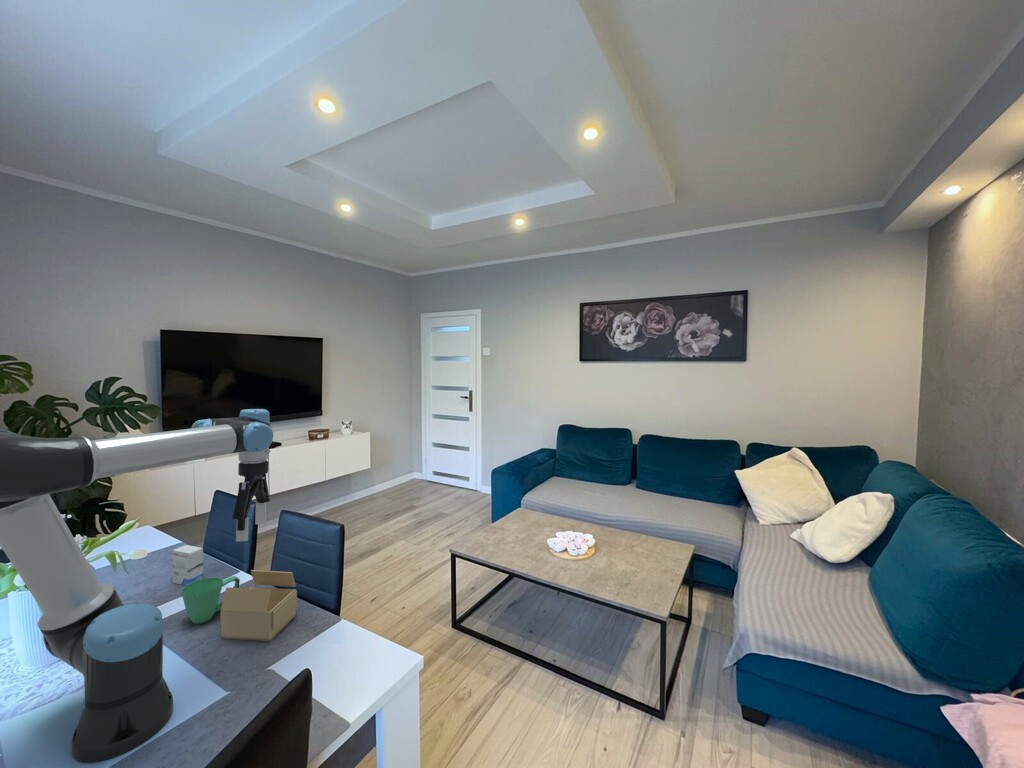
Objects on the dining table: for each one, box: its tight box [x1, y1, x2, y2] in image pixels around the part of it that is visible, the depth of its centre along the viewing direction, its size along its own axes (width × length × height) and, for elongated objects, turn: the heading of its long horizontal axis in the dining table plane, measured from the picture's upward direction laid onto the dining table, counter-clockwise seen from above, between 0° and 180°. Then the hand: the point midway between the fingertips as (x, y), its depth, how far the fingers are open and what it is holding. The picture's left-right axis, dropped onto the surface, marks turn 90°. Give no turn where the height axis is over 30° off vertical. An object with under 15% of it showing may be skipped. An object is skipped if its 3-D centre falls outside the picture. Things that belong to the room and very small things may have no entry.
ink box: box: [171, 544, 205, 587], centre depth 140 cm, size 9×5×12 cm, turn 73°
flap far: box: [250, 569, 297, 588], centre depth 122 cm, size 1×13×6 cm, turn 87°
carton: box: [220, 586, 298, 642], centre depth 117 cm, size 12×15×8 cm
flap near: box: [220, 587, 271, 612], centre depth 111 cm, size 1×13×6 cm, turn 87°
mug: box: [181, 575, 241, 624], centre depth 122 cm, size 15×10×10 cm
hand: (251, 532), depth 120 cm, fingers open, 13 cm apart
